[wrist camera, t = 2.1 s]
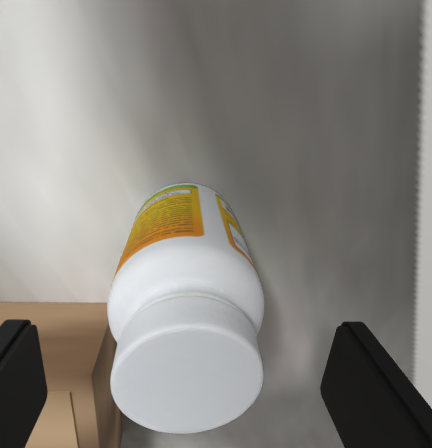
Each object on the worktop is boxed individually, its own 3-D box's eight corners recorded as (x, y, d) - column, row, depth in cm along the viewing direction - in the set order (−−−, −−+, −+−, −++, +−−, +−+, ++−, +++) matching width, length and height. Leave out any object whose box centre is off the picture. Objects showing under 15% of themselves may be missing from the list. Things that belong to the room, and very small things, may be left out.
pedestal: (-113, 301, 17) (-226, 383, 12) (114, 303, 18) (90, 377, 14) (-54, 440, 22) (-120, 537, 17) (122, 433, 23) (106, 521, 18)
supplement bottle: (122, 253, 17) (54, 434, 8) (156, 164, 15) (117, 271, 6) (211, 282, 18) (236, 464, 9) (252, 203, 16) (330, 337, 8)
